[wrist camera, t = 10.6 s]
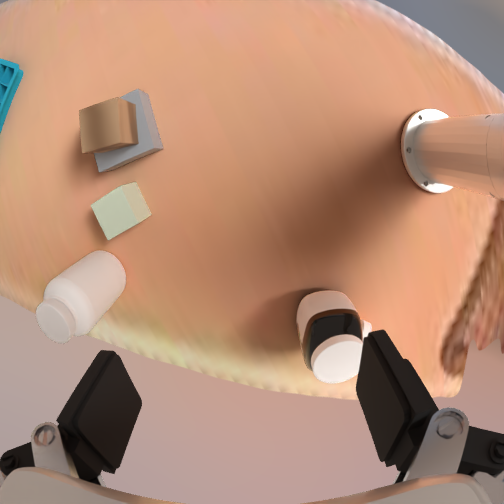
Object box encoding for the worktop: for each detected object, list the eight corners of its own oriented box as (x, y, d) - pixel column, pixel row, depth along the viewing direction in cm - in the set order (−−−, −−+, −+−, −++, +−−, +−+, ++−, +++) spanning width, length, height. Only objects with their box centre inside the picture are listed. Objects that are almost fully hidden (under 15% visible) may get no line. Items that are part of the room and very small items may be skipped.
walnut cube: (135, 104, 27) (117, 97, 22) (138, 143, 29) (120, 142, 24) (100, 114, 27) (79, 110, 22) (103, 152, 29) (82, 153, 24)
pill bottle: (127, 252, 37) (73, 303, 23) (128, 301, 40) (84, 362, 25) (83, 244, 36) (21, 286, 22) (86, 291, 39) (35, 343, 25)
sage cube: (136, 181, 34) (120, 185, 29) (152, 214, 35) (138, 223, 31) (108, 198, 34) (90, 205, 30) (123, 230, 36) (108, 240, 31)
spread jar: (295, 285, 39) (311, 333, 28) (369, 279, 39) (405, 320, 28) (294, 351, 43) (305, 404, 32) (359, 343, 43) (384, 390, 32)
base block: (149, 95, 30) (138, 88, 26) (164, 148, 33) (154, 148, 29) (99, 119, 31) (84, 116, 27) (113, 170, 33) (99, 172, 30)
